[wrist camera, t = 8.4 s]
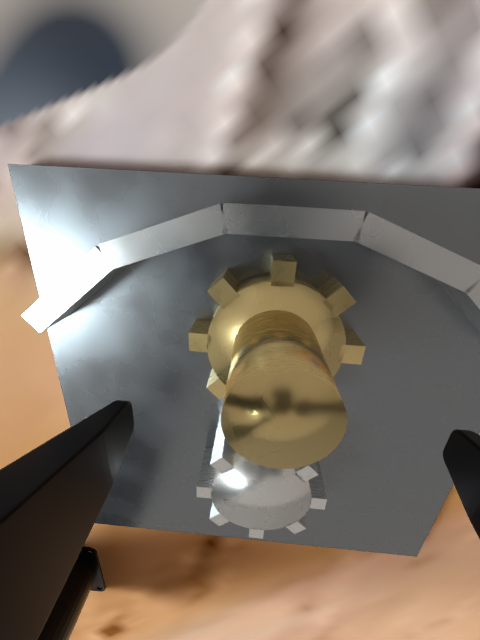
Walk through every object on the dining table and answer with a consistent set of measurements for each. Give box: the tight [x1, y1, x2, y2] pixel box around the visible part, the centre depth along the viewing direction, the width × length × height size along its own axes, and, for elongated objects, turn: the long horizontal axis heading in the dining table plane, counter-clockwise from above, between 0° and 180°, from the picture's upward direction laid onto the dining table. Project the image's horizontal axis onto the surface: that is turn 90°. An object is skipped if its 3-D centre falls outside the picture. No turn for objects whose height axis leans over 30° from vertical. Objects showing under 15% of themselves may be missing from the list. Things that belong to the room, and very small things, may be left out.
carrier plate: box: [8, 164, 480, 557], centre depth 15 cm, size 23×23×4 cm
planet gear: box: [189, 254, 366, 469], centre depth 11 cm, size 8×8×6 cm
